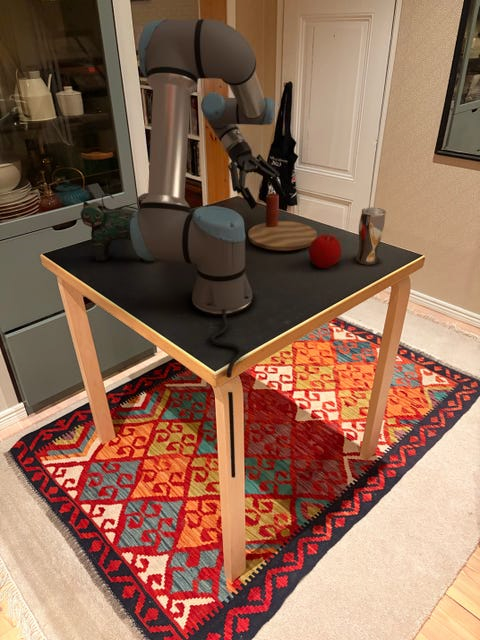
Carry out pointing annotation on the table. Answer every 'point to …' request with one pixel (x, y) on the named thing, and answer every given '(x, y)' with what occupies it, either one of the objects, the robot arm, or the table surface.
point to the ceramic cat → (107, 226)
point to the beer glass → (370, 234)
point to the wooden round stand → (280, 230)
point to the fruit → (325, 251)
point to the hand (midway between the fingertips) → (269, 202)
